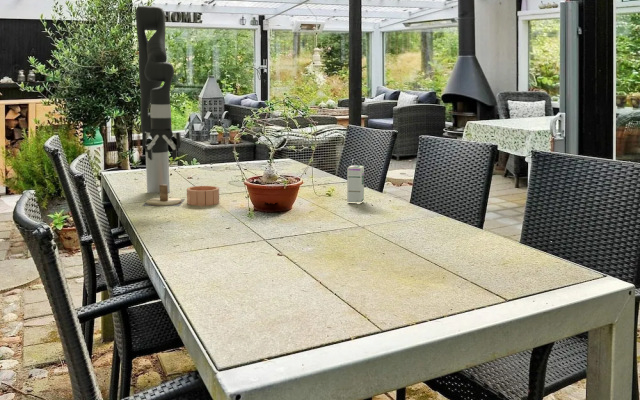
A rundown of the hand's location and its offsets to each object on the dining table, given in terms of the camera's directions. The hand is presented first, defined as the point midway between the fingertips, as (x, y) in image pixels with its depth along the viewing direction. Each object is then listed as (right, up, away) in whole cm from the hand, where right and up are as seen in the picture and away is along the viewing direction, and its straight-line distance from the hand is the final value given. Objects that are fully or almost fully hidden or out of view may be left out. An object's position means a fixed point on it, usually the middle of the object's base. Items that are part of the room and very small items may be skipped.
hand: (162, 159), depth 245 cm
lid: (0, -16, +3) cm, 17 cm away
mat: (0, -17, +3) cm, 17 cm away
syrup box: (+74, -17, +9) cm, 76 cm away
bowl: (+15, -17, +4) cm, 23 cm away
